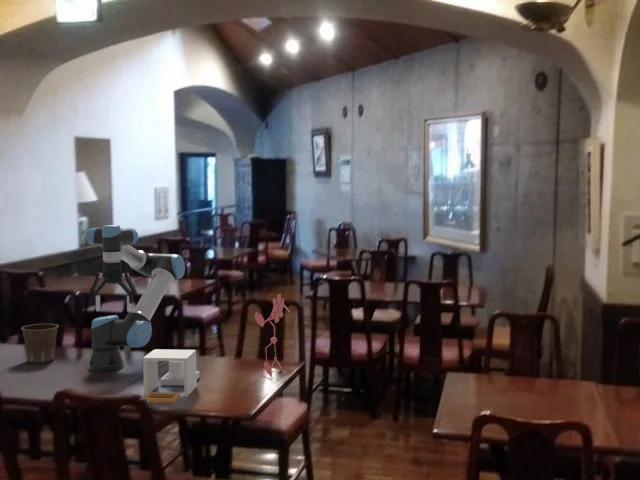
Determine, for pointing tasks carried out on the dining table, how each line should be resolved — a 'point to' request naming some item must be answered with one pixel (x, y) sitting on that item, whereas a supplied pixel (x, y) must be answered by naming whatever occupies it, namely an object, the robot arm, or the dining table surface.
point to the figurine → (275, 314)
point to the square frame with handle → (173, 380)
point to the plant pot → (40, 342)
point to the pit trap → (162, 397)
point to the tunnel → (169, 355)
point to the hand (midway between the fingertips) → (113, 310)
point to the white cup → (176, 369)
